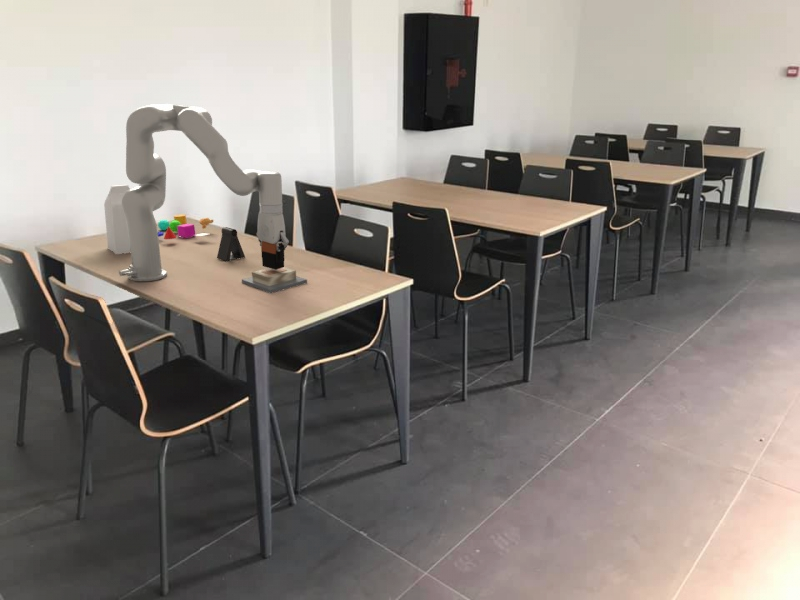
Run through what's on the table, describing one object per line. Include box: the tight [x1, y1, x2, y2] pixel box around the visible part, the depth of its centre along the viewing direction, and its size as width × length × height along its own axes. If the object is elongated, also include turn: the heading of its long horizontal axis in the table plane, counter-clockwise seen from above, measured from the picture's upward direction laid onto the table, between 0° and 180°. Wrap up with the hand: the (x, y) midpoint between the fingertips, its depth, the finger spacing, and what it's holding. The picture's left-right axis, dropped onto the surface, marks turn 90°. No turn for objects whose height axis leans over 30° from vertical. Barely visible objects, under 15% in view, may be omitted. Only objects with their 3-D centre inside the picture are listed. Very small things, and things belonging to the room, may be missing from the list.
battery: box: [261, 241, 285, 270], centre depth 217 cm, size 4×7×10 cm, turn 56°
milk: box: [103, 184, 131, 255], centre depth 253 cm, size 12×12×26 cm
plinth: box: [251, 266, 297, 286], centre depth 220 cm, size 12×9×3 cm
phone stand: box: [216, 226, 246, 262], centre depth 247 cm, size 9×6×12 cm, turn 140°
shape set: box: [157, 214, 214, 240], centre depth 279 cm, size 29×35×7 cm
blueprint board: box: [241, 275, 308, 294], centre depth 221 cm, size 16×16×1 cm
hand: (273, 259), depth 218 cm, fingers closed on battery, 7 cm apart
